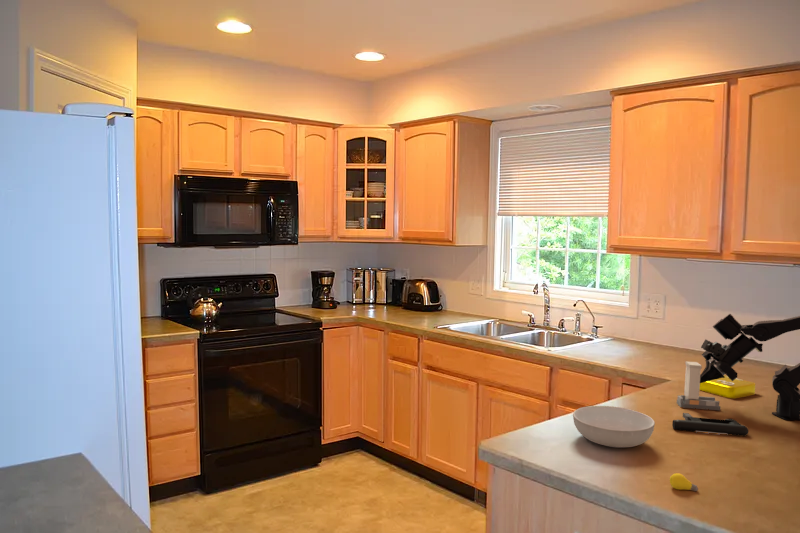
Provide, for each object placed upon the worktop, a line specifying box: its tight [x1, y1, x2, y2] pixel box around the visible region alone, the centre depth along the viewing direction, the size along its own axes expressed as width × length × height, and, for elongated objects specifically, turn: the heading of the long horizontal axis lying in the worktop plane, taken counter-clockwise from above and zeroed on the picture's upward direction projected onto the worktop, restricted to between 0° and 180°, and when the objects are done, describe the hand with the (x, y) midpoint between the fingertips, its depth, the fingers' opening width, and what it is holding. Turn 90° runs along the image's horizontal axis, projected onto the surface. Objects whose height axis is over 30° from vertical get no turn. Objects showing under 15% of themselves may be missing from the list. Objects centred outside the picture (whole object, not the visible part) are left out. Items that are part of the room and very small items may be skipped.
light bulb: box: [669, 472, 699, 492], centre depth 138 cm, size 3×6×4 cm, turn 74°
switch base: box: [676, 394, 721, 411], centre depth 202 cm, size 12×5×3 cm, turn 80°
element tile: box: [699, 374, 756, 399], centre depth 223 cm, size 15×15×5 cm
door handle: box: [671, 412, 749, 437], centre depth 183 cm, size 3×20×16 cm
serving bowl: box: [572, 405, 656, 448], centre depth 168 cm, size 21×21×7 cm
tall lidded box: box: [683, 360, 703, 400], centre depth 202 cm, size 4×5×13 cm
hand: (698, 381), depth 202 cm, fingers closed, pressing on tall lidded box
